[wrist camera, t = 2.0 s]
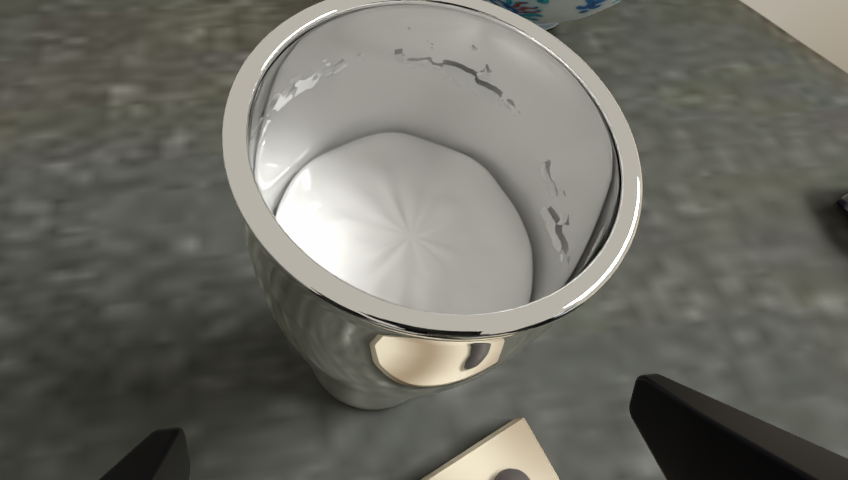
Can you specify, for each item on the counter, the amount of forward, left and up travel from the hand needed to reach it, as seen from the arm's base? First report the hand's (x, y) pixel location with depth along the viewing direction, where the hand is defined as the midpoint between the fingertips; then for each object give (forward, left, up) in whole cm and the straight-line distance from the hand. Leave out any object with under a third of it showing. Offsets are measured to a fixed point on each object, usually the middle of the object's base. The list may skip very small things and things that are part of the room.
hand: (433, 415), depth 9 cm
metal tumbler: (+1, +4, -11) cm, 12 cm away
